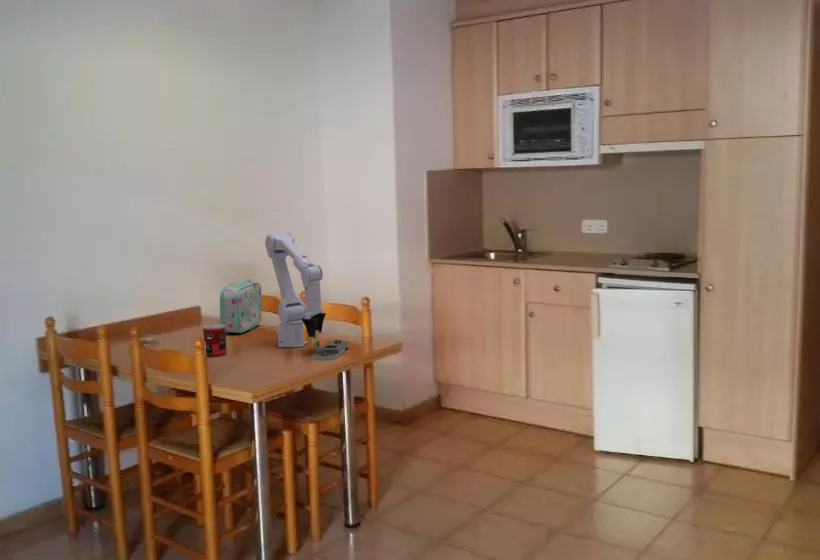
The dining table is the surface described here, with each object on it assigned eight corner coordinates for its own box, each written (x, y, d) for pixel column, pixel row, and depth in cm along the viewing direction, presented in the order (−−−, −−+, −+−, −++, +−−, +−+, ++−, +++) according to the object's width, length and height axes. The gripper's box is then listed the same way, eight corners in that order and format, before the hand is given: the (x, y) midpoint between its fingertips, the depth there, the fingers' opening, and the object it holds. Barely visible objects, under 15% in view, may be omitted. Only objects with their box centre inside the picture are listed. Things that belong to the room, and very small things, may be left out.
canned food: (203, 354, 306) (201, 325, 305) (224, 351, 309) (222, 323, 308) (206, 358, 299) (204, 328, 298) (228, 355, 302) (226, 326, 301)
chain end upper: (317, 352, 295) (317, 347, 295) (329, 344, 309) (328, 339, 309) (338, 352, 294) (338, 347, 293) (349, 344, 307) (349, 339, 307)
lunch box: (243, 323, 366) (240, 276, 363) (265, 323, 364) (262, 276, 361) (218, 336, 340) (215, 285, 337) (241, 336, 338) (238, 285, 335)
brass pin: (310, 352, 302) (309, 331, 301) (313, 350, 305) (312, 329, 304) (318, 352, 301) (317, 331, 300) (321, 350, 304) (319, 329, 303)
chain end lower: (312, 359, 290) (311, 354, 289) (324, 350, 303) (324, 346, 303) (333, 360, 288) (333, 355, 288) (345, 351, 302) (344, 346, 301)
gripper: (317, 301, 292) (319, 338, 294) (329, 295, 306) (331, 330, 308) (298, 301, 294) (300, 338, 296) (311, 295, 308) (313, 330, 310)
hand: (315, 334), depth 302 cm, fingers open, 7 cm apart
